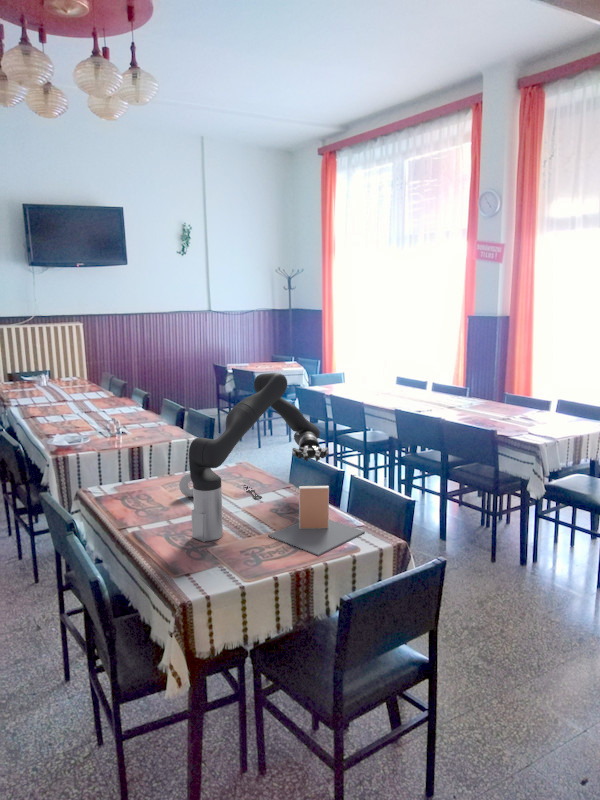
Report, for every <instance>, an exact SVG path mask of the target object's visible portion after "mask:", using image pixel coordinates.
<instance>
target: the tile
mask: <svg viewBox="0 0 600 800" xmlns="http://www.w3.org/2000/svg"><path fill="white" fill-rule="evenodd" d="M329 501H330V486H329V485H302V486H301V485H300V486H298V522H299V529H315V528H329V520H330V519H329V518H330V517H329V516H330V515H329V514H330V513H329V512H330V503H329Z"/></svg>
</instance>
